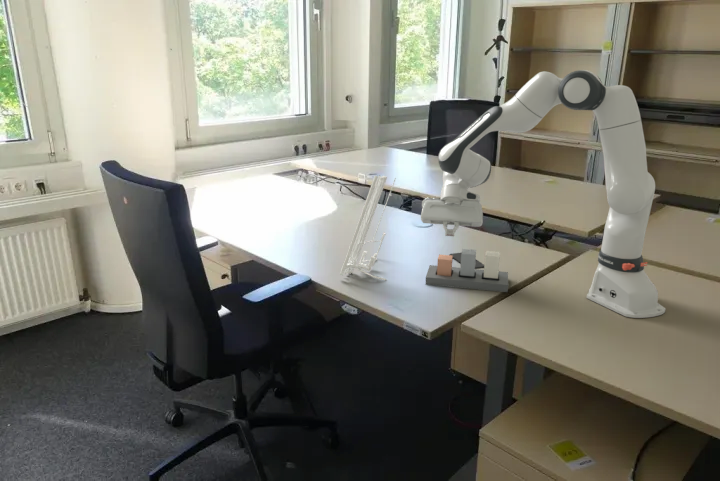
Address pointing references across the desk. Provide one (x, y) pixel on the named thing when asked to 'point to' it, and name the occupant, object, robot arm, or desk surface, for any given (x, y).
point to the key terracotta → (444, 265)
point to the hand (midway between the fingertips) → (449, 235)
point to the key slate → (468, 262)
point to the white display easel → (365, 231)
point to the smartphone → (458, 258)
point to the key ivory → (491, 264)
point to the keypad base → (468, 280)
